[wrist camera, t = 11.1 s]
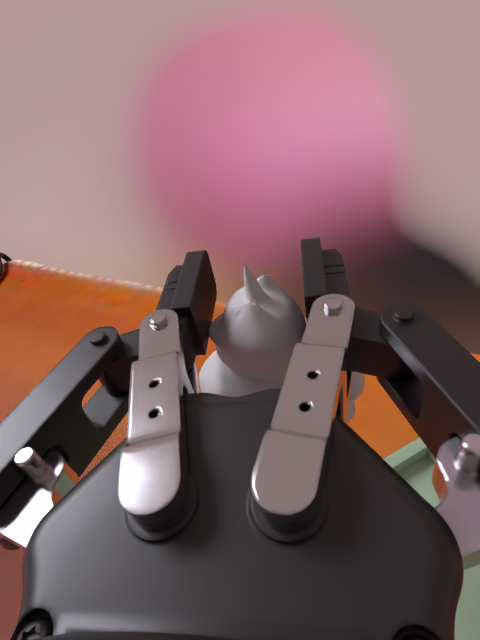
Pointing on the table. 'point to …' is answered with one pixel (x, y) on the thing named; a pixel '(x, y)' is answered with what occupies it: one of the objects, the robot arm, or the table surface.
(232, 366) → the white plastic figurine
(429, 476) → the tray
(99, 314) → the table surface
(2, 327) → the table surface
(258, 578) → the robot arm
